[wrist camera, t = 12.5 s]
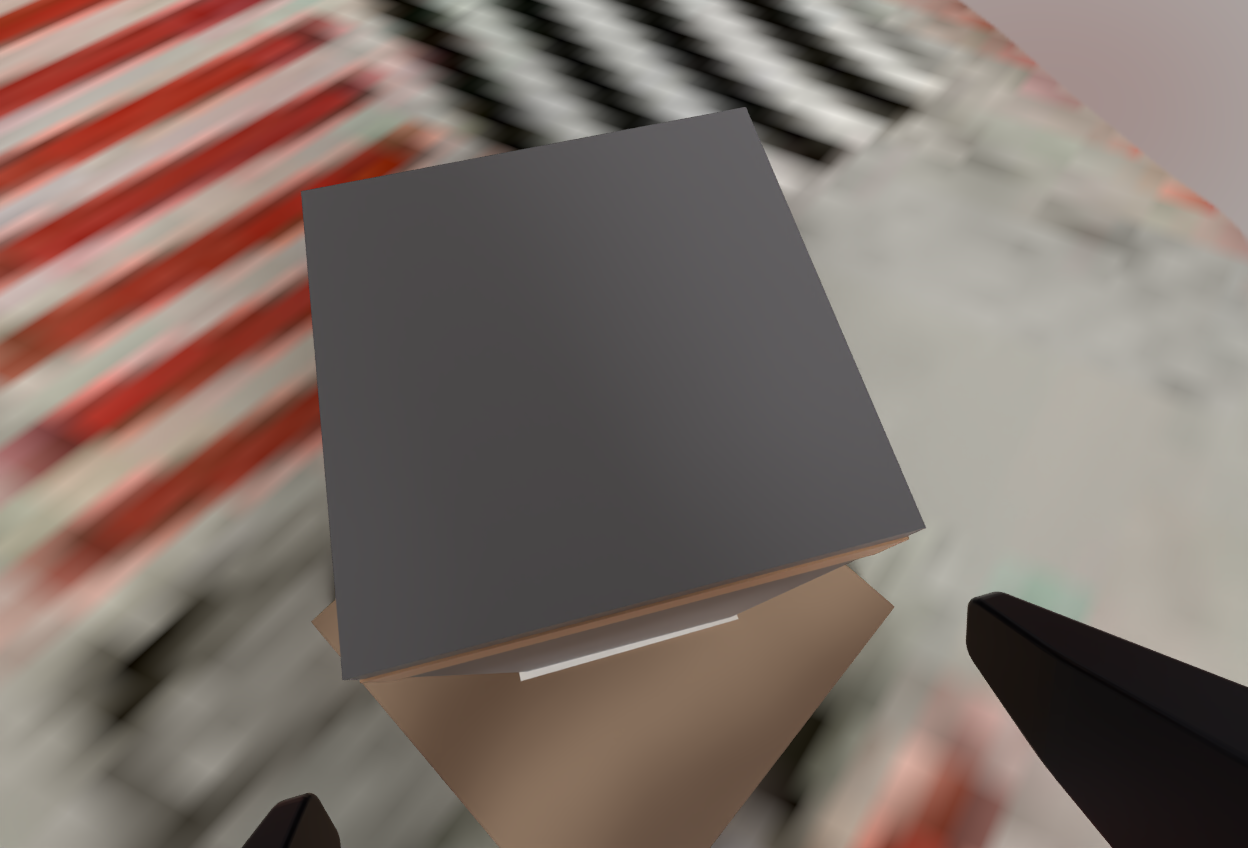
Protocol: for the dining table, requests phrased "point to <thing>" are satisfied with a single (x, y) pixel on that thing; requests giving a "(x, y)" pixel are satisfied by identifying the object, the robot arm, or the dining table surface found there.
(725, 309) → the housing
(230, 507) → the dining table surface
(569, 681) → the board
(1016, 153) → the dining table surface
